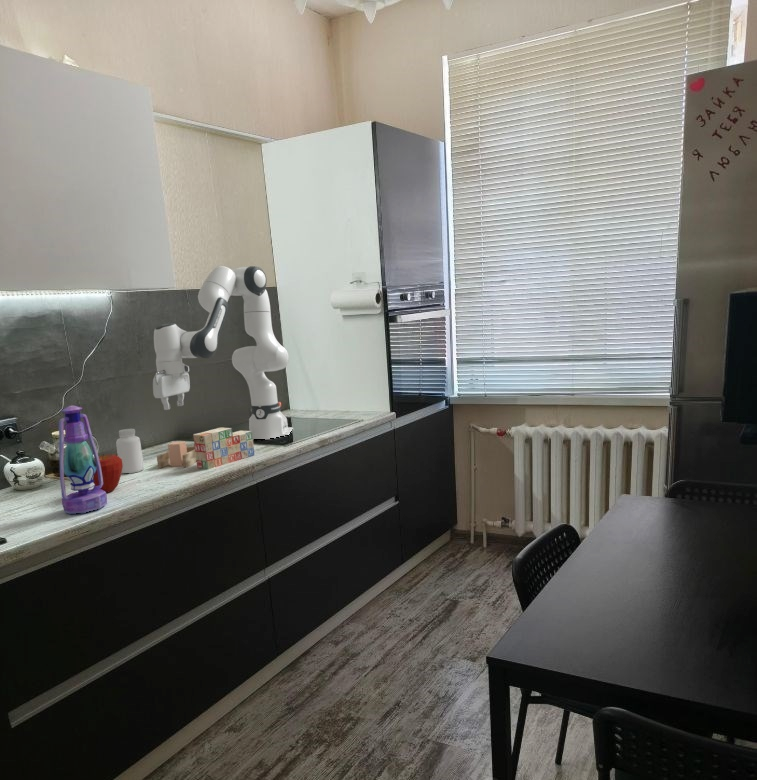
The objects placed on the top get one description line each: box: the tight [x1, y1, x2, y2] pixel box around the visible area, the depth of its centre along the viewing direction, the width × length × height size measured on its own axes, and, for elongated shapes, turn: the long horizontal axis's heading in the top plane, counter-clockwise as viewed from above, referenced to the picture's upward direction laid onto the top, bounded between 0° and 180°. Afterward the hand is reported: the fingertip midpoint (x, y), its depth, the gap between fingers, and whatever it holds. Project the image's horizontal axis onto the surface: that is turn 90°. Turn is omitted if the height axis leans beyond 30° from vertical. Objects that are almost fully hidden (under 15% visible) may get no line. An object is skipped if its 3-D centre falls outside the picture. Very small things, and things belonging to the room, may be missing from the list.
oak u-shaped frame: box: [156, 445, 197, 469], centre depth 223 cm, size 14×11×4 cm
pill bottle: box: [115, 428, 145, 474], centre depth 215 cm, size 8×8×15 cm
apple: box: [93, 453, 123, 493], centre depth 191 cm, size 11×11×12 cm
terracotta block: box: [167, 441, 187, 467], centre depth 221 cm, size 4×4×8 cm
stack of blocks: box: [192, 427, 255, 470], centre depth 220 cm, size 21×6×12 cm, turn 143°
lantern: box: [58, 405, 108, 515], centre depth 172 cm, size 13×12×30 cm
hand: (174, 407), depth 218 cm, fingers open, 8 cm apart
